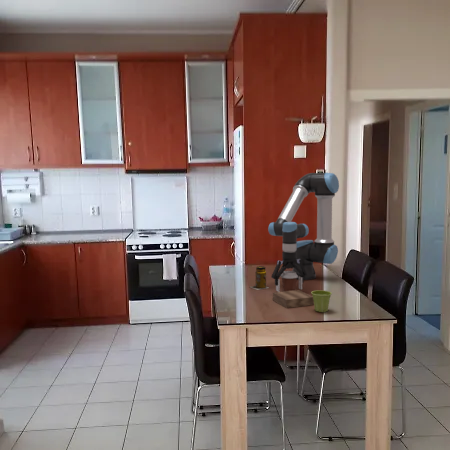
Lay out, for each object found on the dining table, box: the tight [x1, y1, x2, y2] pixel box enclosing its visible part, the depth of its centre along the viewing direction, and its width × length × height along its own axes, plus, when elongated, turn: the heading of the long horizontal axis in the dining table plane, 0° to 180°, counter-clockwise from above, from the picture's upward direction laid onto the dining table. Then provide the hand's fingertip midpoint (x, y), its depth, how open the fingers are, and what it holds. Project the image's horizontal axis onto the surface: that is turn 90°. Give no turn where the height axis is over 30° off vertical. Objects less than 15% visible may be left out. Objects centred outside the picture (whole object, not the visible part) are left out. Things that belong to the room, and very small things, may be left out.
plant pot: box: [310, 289, 332, 313], centre depth 216 cm, size 9×9×9 cm
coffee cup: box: [280, 270, 298, 292], centre depth 246 cm, size 9×9×12 cm
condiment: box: [250, 265, 270, 291], centre depth 261 cm, size 7×8×12 cm
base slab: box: [272, 289, 314, 309], centre depth 230 cm, size 15×15×4 cm
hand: (289, 290), depth 246 cm, fingers open, 13 cm apart
